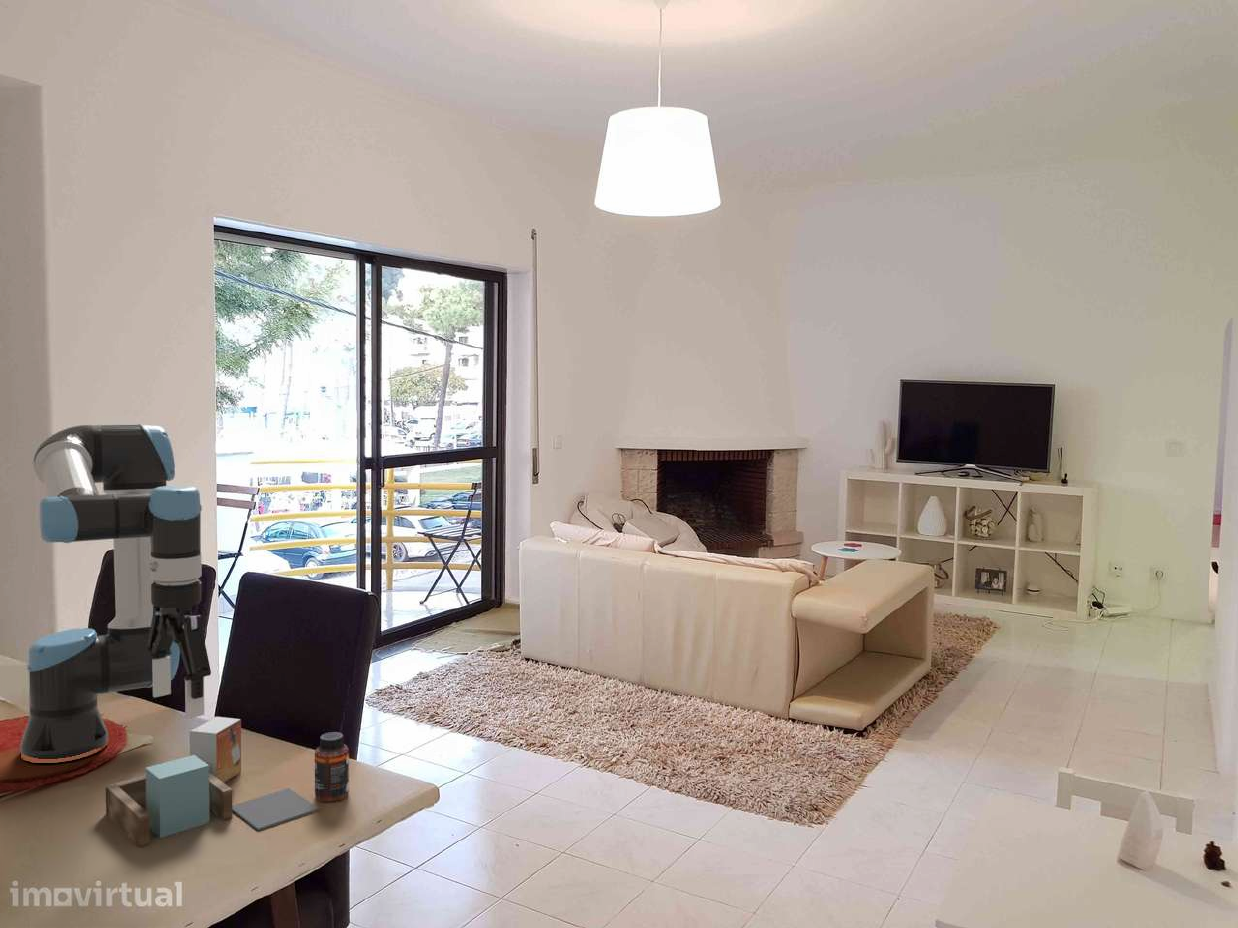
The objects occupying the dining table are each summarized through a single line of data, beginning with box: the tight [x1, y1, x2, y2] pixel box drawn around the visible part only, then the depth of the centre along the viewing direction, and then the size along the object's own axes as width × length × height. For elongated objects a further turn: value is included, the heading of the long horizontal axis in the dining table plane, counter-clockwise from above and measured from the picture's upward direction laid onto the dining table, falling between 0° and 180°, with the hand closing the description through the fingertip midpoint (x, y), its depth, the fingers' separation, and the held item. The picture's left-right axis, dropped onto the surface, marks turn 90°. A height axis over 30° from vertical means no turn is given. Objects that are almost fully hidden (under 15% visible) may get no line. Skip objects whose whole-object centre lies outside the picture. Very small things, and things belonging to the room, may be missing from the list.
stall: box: [105, 773, 233, 848], centre depth 160 cm, size 16×15×5 cm
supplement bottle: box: [314, 731, 350, 803], centre depth 169 cm, size 6×6×11 cm
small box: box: [189, 716, 242, 784], centre depth 175 cm, size 8×6×10 cm
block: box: [145, 755, 210, 838], centre depth 157 cm, size 6×8×10 cm
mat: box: [232, 787, 320, 831], centre depth 164 cm, size 11×11×1 cm
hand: (177, 705), depth 156 cm, fingers open, 13 cm apart
